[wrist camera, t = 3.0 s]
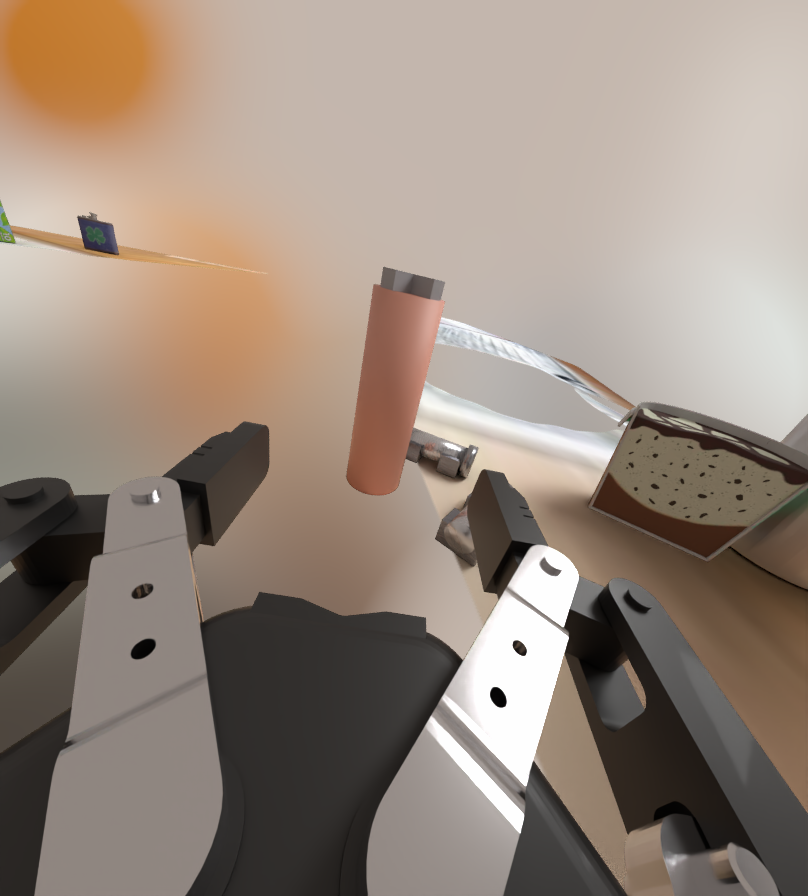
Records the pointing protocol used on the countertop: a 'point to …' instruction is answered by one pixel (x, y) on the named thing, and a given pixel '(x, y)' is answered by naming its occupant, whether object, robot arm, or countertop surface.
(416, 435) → the shaft
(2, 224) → the snack box
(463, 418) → the countertop surface
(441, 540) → the shaft
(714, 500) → the food container
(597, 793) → the countertop surface
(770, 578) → the countertop surface
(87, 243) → the flask
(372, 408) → the pink capped rod
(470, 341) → the countertop surface
